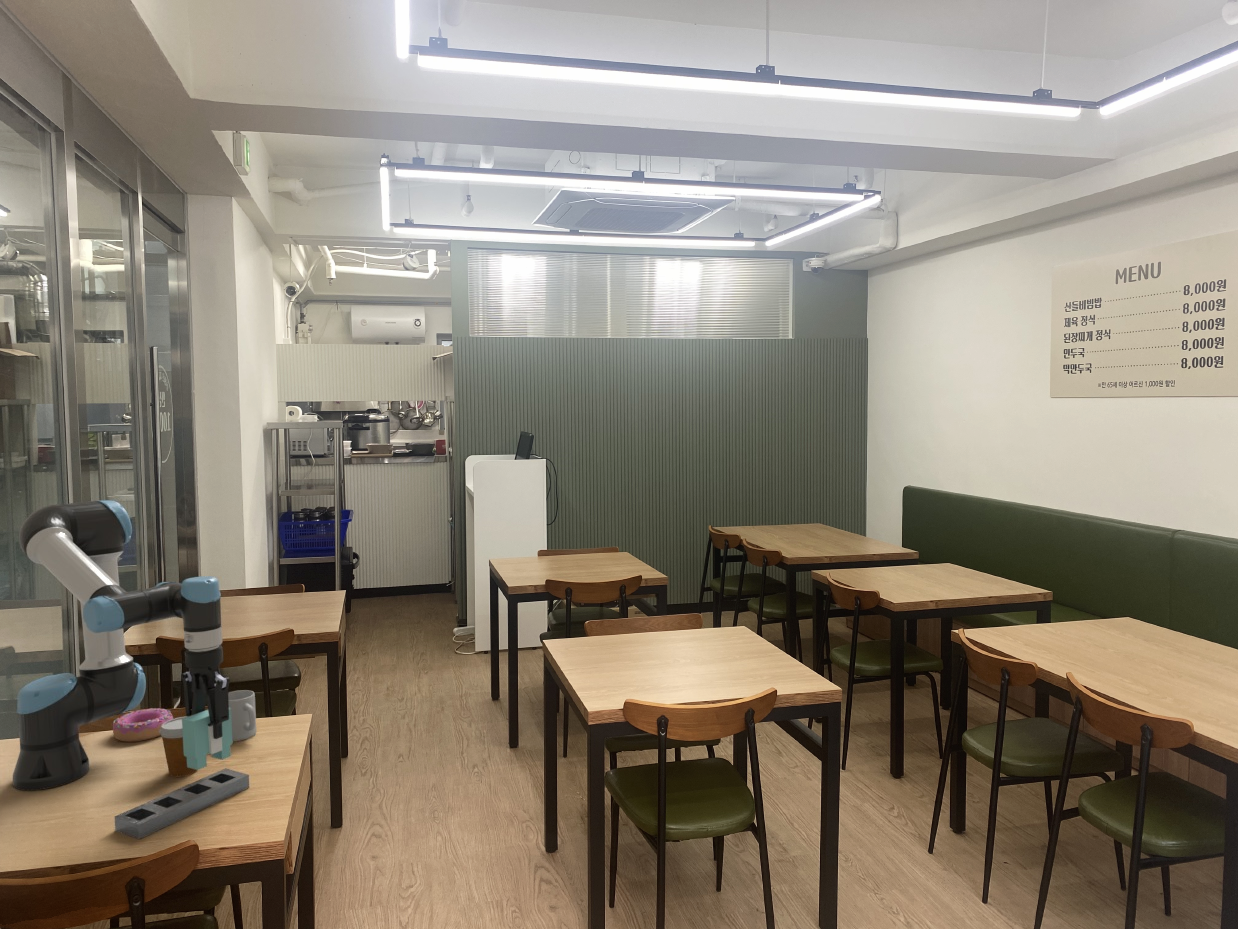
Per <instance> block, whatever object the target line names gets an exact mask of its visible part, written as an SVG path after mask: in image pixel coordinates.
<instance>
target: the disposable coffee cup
mask: <svg viewBox="0 0 1238 929" xmlns="http://www.w3.org/2000/svg"><path fill="white" fill-rule="evenodd" d="M186 717H187V716H180V717H175V718H173V719H172V720H169V721H167V722H165V723H163V724H162V726H161V729H160V731H159V733H160V734H161V735H160V736H161V738H162V743H163V748H164V753H165V759H166V764H167V768H168V769H167V770H168V774H169V776H170V777H175V778H178V777H185V776H189V775H193V774H194V773H196V772H197V771H198V770H196V769H192V768H188V767H187V757H186V756H184V749H183V730H182V719H183V718H186Z"/></svg>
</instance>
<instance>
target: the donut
mask: <svg viewBox="0 0 1238 929" xmlns="http://www.w3.org/2000/svg"><path fill="white" fill-rule="evenodd" d="M171 712H172V711H171V710H169V709H165V708H159V707H158V708H156V707H155V708H154V707H153V708H152V707H151V708H145V709H142V708H141V709H138V710H134V711H132V712H128V713H125V714H121V716H119V717H117V718H116V719H114V720H113V723H112V724H113V726H112V734H113V736H114V738H115V739H116V740H118V741H121V742H127V743H130V742H131V743H132V742H140V741H141V742H142V741H146V740H152V739H154V738H157V737H160V736H161V734H160V733H159V731H160V729H161V726H162V724H163V723H165V722H167V721H169V720H172V719H174V716H173V714H172V713H171Z"/></svg>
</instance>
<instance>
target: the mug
mask: <svg viewBox="0 0 1238 929" xmlns="http://www.w3.org/2000/svg"><path fill="white" fill-rule="evenodd" d="M255 696H256V695H255V692H254V691H253V690H248V689H243V690H241V689H240V690H233V691H228V698H229V708H231V721H232V741H233V742H239V741H240V742H241V741H244V740H247V739H250V738H252V737H254V736H255V735H256V734H257V714H256V697H255Z"/></svg>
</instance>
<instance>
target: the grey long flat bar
mask: <svg viewBox="0 0 1238 929" xmlns="http://www.w3.org/2000/svg"><path fill="white" fill-rule="evenodd" d="M246 789H250V775H249V774H247V773H244V772H240V771H237V770H234V769H229V768H227V767H226V768H224V769H221V770H219V771H216V772H213V773H212V774H209V775H207V776H205V777H203V778H200V779H198V780H195V781H193V782H191V783H189V784H186V785H184V786H181V787H178V788H177V789H175V790H173V791H170V792H167V793H166V794H164V795H161V796H159V797H156V798H155V799H154V798H153V799H152V800H149V801H147V802H144V803H142V804H139V805H138V806H136V807H133V808H131V809H129V810H126V811H124V812H122V813H119V814H117V815H115V816H114V828H115V829H114V830H115V832H119V833H121V834H123V835H127V836H130V837H132V838H135V839H137V840H140V839H141V840H142V839H143V838H145V837H147V836H149V835H150V834H154V833H155V832H157V831H159V830H162V829H163V828H166V827H168V826H170V825H172V824H175V823H177V822H179V821H181V820H184V819H185V818H187V817H189V816H192V815H194V814H196V813H198V812H201V811H202V810H205V809H206V808H210V807H211V806H213V805H216V804H217V803H220V802H221V801H224V800H227V799H228V798H230V797H232V796H234V795H236V794H238V793H241V792H243V791H245V790H246Z"/></svg>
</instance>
